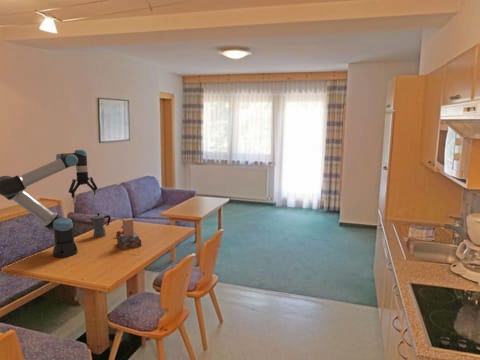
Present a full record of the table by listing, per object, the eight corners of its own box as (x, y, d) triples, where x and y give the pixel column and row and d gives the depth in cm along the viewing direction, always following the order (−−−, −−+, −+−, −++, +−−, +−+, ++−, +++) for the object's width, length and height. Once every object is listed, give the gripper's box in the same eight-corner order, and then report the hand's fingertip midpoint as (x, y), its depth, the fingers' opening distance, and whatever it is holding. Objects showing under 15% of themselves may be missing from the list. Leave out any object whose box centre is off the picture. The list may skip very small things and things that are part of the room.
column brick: (125, 237, 256) (124, 220, 254) (123, 234, 261) (122, 218, 259) (133, 235, 259) (132, 219, 257) (132, 233, 264) (131, 217, 262)
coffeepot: (90, 238, 277) (89, 215, 274) (90, 235, 285) (89, 212, 283) (112, 235, 282) (110, 213, 280) (111, 232, 291) (110, 210, 288)
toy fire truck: (115, 237, 279) (115, 225, 278) (130, 233, 290) (130, 221, 288) (118, 238, 277) (117, 225, 276) (133, 233, 288) (132, 221, 286)
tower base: (121, 249, 252) (120, 239, 251) (117, 243, 264) (117, 234, 263) (141, 245, 258) (141, 236, 257) (137, 240, 270) (136, 231, 269)
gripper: (96, 169, 269) (98, 197, 272) (61, 172, 251) (64, 202, 254) (101, 170, 264) (103, 198, 267) (66, 173, 246) (68, 204, 249)
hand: (84, 200), depth 261 cm, fingers open, 13 cm apart
